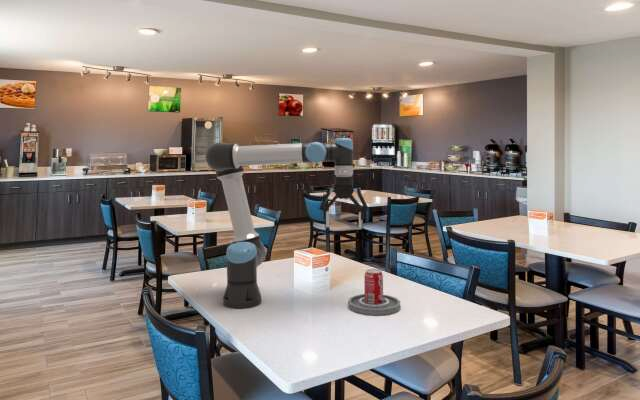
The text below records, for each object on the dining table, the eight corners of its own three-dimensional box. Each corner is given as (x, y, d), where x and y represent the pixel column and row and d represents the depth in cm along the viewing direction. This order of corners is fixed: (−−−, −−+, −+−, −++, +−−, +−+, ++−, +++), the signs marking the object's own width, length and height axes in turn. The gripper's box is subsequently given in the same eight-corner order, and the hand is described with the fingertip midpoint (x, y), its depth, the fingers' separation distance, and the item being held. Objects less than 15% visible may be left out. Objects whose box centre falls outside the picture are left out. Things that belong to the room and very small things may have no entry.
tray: (344, 313, 175) (344, 307, 174) (352, 297, 194) (352, 291, 194) (399, 317, 171) (399, 310, 170) (401, 300, 190) (401, 294, 190)
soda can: (381, 307, 178) (382, 273, 177) (363, 305, 180) (363, 272, 178) (384, 301, 185) (384, 269, 184) (365, 300, 187) (366, 268, 185)
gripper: (312, 176, 192) (312, 227, 194) (373, 176, 187) (373, 229, 189) (316, 175, 199) (316, 225, 201) (375, 175, 194) (374, 226, 196)
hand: (343, 227), depth 195 cm, fingers open, 13 cm apart
